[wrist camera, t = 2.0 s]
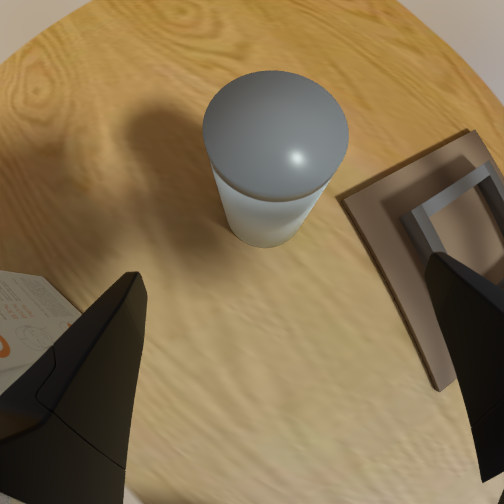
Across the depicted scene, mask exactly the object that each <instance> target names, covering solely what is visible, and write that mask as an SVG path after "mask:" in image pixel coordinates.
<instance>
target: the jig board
mask: <svg viewBox="0 0 504 504" xmlns="http://www.w3.org/2000/svg"><path fill="white" fill-rule="evenodd" d="M342 203H343V205H344V207H345V208H346V210H347V212H348V214H349V215H350V217H351V219H352V220H353V222H354V224H355V225H356V227H357V229H358V231H359V232H360V234H361V236H362V238H363V239H364V241H365V243H366V245H367V247H368V248H369V250H370V252H371V254H372V256H373V258H374V259H375V261H376V263H377V265H378V267H379V269H380V271H381V273H382V274H383V276H384V278H385V280H386V282H387V284H388V286H389V288H390V290H391V292H392V294H393V296H394V298H395V300H396V302H397V304H398V306H399V308H400V310H401V312H402V314H403V316H404V318H405V320H406V323H407V325H408V327H409V329H410V331H411V333H412V335H413V338H414V340H415V342H416V344H417V346H418V349H419V351H420V353H421V355H422V358H423V360H424V362H425V365H426V367H427V369H428V372H429V374H430V377H431V379H432V382H433V384H434V386H435V389H436V391H438V392H441V391H442V390H443V389H445V388H446V387H447V386H448V385H449V384H451V383H452V382H453V381H454V380H455V379H456V378H457V376H456V373H455V370H454V367H453V364H452V361H451V358H450V355H449V352H448V349H447V346H446V343H445V341H444V338H443V335H442V332H441V330H440V327H439V324H438V322H437V319H436V316H435V313H434V309H433V306H432V302H431V299H430V295H429V292H428V289H427V286H426V283H425V279H424V271H425V268H426V265H427V263H428V260H429V257H430V254H431V253H433V252H440V251H442V252H445V253H446V254H448V255H450V256H451V257H453V258H454V259H456V260H458V261H459V262H461V263H463V264H464V265H466V266H467V267H469V268H471V269H472V270H474V271H475V272H477V273H478V274H480V275H481V276H483V277H485V278H486V279H488V280H489V281H491V282H492V283H494V284H495V285H497V286H498V287H500V288H501V289H503V290H504V177H503V175H502V174H501V172H500V170H499V168H498V166H497V165H496V163H495V161H494V159H493V158H492V156H491V154H490V153H489V151H488V149H487V148H486V146H485V144H484V143H483V141H482V140H481V138H480V136H479V135H478V133H477V132H476V130H473V131H471V132H469V133H467V134H465V135H464V136H462V137H460V138H458V139H456V140H454V141H452V142H450V143H449V144H447V145H445V146H443V147H441V148H439V149H437V150H435V151H433V152H432V153H430V154H428V155H426V156H424V157H422V158H420V159H418V160H417V161H415V162H413V163H411V164H409V165H407V166H405V167H403V168H402V169H400V170H398V171H396V172H394V173H392V174H390V175H388V176H387V177H385V178H383V179H381V180H379V181H377V182H375V183H373V184H372V185H370V186H368V187H366V188H364V189H362V190H360V191H359V192H357V193H355V194H353V195H351V196H349V197H347V198H345V199H344V200H343V201H342Z"/></svg>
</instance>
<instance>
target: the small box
mask: <svg viewBox="0 0 504 504" xmlns="http://www.w3.org/2000/svg"><path fill="white" fill-rule="evenodd" d="M81 315H82V314H81V313H80V312H79V311H78V310H77V309H76V308H75V307H74V306H73V305H72V304H71V303H70V302H68V301H67V300H66V299H65V298H64V297H63V296H62V295H61V294H60V293H59V292H58V291H57V290H56V289H55V288H54V287H53V286H52V285H51V284H50V283H49V282H48V281H47V280H46V279H45V278H44V277H43V276H37V275H30V274H24V273H16V272H9V271H3V270H0V395H1V394H2V393H3V392H4V391H5V390H6V389H7V388H8V387H9V386H10V385H12V384H13V383H14V382H15V381H16V380H17V379H18V378H19V377H20V376H21V375H22V374H23V373H24V372H25V371H27V370H28V369H29V368H30V367H31V366H32V365H33V364H34V363H35V362H36V361H37V360H38V359H39V358H40V357H41V356H42V355H43V354H44V353H45V352H46V351H47V349H48V348H49V347H50V346H51V345H53V343H54V342H55V341H56V340H57V339H58V338H59V337H60V336H61V335H62V334H63V333H64V332H65V331H66V330H67V329H68V328H69V327H70V326H71V325H72V324H73V323H74V322H75V321H76V320H77V319H78V318H79V317H80V316H81Z"/></svg>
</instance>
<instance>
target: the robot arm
mask: <svg viewBox="0 0 504 504" xmlns="http://www.w3.org/2000/svg"><path fill="white" fill-rule="evenodd" d="M424 279H425V283H426V286H427V289H428V292H429V295H430V299H431V302H432V306H433V309H434V313H435V316H436V319H437V322H438V324H439V327H440V330H441V332H442V335H443V338H444V341H445V343H446V346H447V349H448V352H449V355H450V358H451V361H452V364H453V367H454V370H455V373H456V376H457V379H458V382H459V386H460V389H461V393H462V396H463V399H464V403H465V407H466V410H467V414H468V418H469V422H470V426H471V427H472V428H471V431H472V435H473V439H474V444H475V449H476V454H477V459H478V464H479V469H480V475H481V480H482V483H484V482H486V481H488V480H490V479H491V478H493V477H495V476H497V475H499V474H500V473H502V472H504V290H503V289H501V288H500V287H498V286H497V285H495V284H494V283H492V282H491V281H489V280H488V279H486V278H485V277H483V276H481V275H480V274H478V273H477V272H475V271H474V270H472V269H471V268H469V267H467V266H466V265H464V264H463V263H461V262H459V261H458V260H456V259H454V258H453V257H451V256H450V255H448V254H446V253H445V252H442V251H440V252H433V253H431V254H430V257H429V260H428V263H427V265H426V268H425V271H424ZM146 309H147V291H146V288H145V285H144V283H143V280H142V276H141V274H140V273H139V272H137V271H136V272H126V273H125V274H123V275H122V276H121V277H120V278H119V279H118V280H117V281H116V282H115V283H114V284H113V285H112V286H111V287H110V288H109V289H108V290H106V291H105V292H104V293H103V294H102V295H101V296H100V297H99V298H98V299H97V300H96V301H95V302H94V303H93V304H92V305H91V306H90V307H89V308H88V309H87V310H86V311H85V312H84V313H83V314H82V315H81V316H80V317H79V318H78V319H77V320H76V321H75V322H74V323H73V324H72V325H71V326H70V327H69V328H68V329H67V330H66V331H65V332H64V333H63V334H62V335H61V336H60V337H59V338H58V339H57V340H56V341H55V342H54V343H53V345H51V346H50V347H49V348H48V349H47V351H46V352H45V353H44V354H43V355H42V356H41V357H40V358H39V359H38V360H37V361H36V362H35V363H34V364H33V365H32V366H31V367H30V368H29V369H28V370H27V371H25V372H24V373H23V374H22V375H21V376H20V377H19V378H18V379H17V380H16V381H15V382H14V383H13V384H12V385H10V386H9V387H8V388H7V389H6V390H5V391H4V392H3V393H2V394H1V395H0V504H123V497H124V484H125V472H126V471H125V469H126V461H127V451H128V443H129V434H130V426H131V419H132V412H133V405H134V398H135V392H136V385H137V379H138V373H139V367H140V362H141V356H142V351H143V344H144V334H145V321H146ZM498 504H504V490H503V492H502V495H501V497H500V500H499V502H498Z"/></svg>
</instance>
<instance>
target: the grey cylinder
mask: <svg viewBox="0 0 504 504" xmlns="http://www.w3.org/2000/svg"><path fill="white" fill-rule="evenodd" d="M203 139H204V143H205V146H206V150H207V153H208V157H209V160H210V164H211V167H212V170H213V174H214V177H215V181H216V184H217V187H218V191H219V194H220V197H221V201H222V204H223V208H224V211H225V214H226V218H227V221H228V224H229V226H230V228H231V230H232V231H233V233H234V234H235V235H236V236H237V237H238V238H239V239H240V240H242V241H243V242H245V243H247V244H249V245H251V246H254V247H259V248H271V247H276V246H279V245H281V244H283V243H285V242H287V241H288V240H289V239H291V238H292V237H293V236H294V235H295V234H296V232H297V231H298V229H299V228H300V226H301V225H302V223H303V221H304V220H305V218H306V217H307V215H308V214H309V212H310V211H311V209H312V208H313V206H314V204H315V203H316V201H317V200H318V198H319V197H320V195H321V194H322V192H323V190H324V189H325V187H326V186H327V184H328V183H329V181H330V179H331V178H332V176H333V175H334V173H335V172H336V170H337V168H338V167H339V165H340V164H341V162H342V160H343V158H344V156H345V154H346V150H347V147H348V140H349V132H348V125H347V121H346V118H345V115H344V113H343V111H342V109H341V107H340V106H339V104H338V103H337V101H336V100H335V99H334V98H333V96H332V95H331V94H330V93H329V92H328V91H326V90H325V89H324V88H323V87H321V86H320V85H319V84H317V83H315V82H314V81H312V80H310V79H308V78H305V77H303V76H300V75H297V74H294V73H290V72H284V71H260V72H255V73H250V74H247V75H244V76H241V77H239V78H237V79H235V80H233V81H231V82H230V83H228V84H227V85H225V86H224V87H223V88H222V89H221V90H220V91H219V92H218V93H217V94H216V95H215V96H214V97H213V99H212V100H211V102H210V103H209V105H208V107H207V109H206V112H205V115H204V120H203Z"/></svg>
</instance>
